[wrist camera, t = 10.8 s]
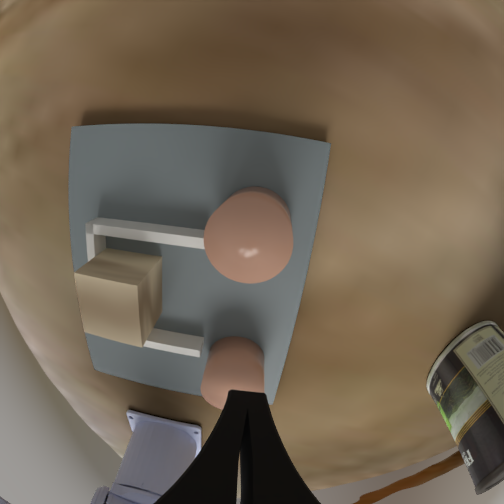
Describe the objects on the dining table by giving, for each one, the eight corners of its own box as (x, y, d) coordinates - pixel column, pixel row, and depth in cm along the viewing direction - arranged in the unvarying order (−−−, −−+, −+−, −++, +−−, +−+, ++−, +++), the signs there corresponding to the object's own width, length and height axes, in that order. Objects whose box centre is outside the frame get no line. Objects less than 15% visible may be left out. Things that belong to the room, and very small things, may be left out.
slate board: (272, 396, 22) (272, 404, 21) (98, 362, 22) (94, 369, 21) (326, 143, 15) (331, 143, 14) (80, 127, 15) (71, 126, 14)
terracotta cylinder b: (305, 215, 15) (311, 234, 12) (263, 268, 17) (258, 298, 13) (246, 171, 15) (235, 179, 12) (206, 229, 16) (187, 251, 13)
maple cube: (162, 311, 18) (142, 347, 14) (111, 300, 18) (84, 331, 14) (162, 256, 17) (137, 285, 13) (106, 248, 17) (73, 272, 13)
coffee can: (444, 405, 23) (486, 493, 10) (410, 377, 21) (465, 498, 8) (506, 345, 21) (566, 421, 7) (487, 300, 19) (577, 395, 5)
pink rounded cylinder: (259, 379, 20) (259, 414, 17) (207, 372, 20) (200, 406, 17) (268, 340, 19) (269, 375, 15) (210, 332, 19) (201, 366, 15)
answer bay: (203, 343, 19) (199, 357, 18) (107, 323, 19) (98, 334, 17) (211, 231, 16) (206, 238, 15) (97, 217, 16) (85, 223, 15)
